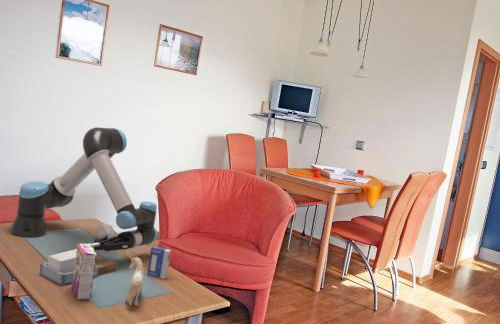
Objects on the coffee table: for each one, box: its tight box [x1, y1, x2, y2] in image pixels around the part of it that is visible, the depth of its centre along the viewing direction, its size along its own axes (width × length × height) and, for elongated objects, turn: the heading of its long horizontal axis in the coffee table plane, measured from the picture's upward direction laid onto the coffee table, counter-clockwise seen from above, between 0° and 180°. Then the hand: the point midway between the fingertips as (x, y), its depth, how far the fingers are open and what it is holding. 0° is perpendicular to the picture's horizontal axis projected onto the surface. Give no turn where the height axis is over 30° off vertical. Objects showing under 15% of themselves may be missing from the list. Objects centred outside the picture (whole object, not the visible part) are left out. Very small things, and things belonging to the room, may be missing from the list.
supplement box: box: [47, 248, 77, 274], centre depth 171 cm, size 7×7×13 cm
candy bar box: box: [71, 242, 98, 301], centre depth 159 cm, size 11×5×16 cm, turn 30°
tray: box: [39, 261, 99, 286], centre depth 172 cm, size 13×16×4 cm
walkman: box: [146, 245, 172, 280], centre depth 187 cm, size 8×3×12 cm, turn 78°
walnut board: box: [95, 254, 119, 277], centre depth 184 cm, size 12×10×3 cm
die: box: [94, 222, 115, 240], centre depth 220 cm, size 8×9×10 cm
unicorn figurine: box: [124, 252, 145, 307], centre depth 162 cm, size 7×20×13 cm, turn 24°
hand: (85, 248), depth 176 cm, fingers closed
